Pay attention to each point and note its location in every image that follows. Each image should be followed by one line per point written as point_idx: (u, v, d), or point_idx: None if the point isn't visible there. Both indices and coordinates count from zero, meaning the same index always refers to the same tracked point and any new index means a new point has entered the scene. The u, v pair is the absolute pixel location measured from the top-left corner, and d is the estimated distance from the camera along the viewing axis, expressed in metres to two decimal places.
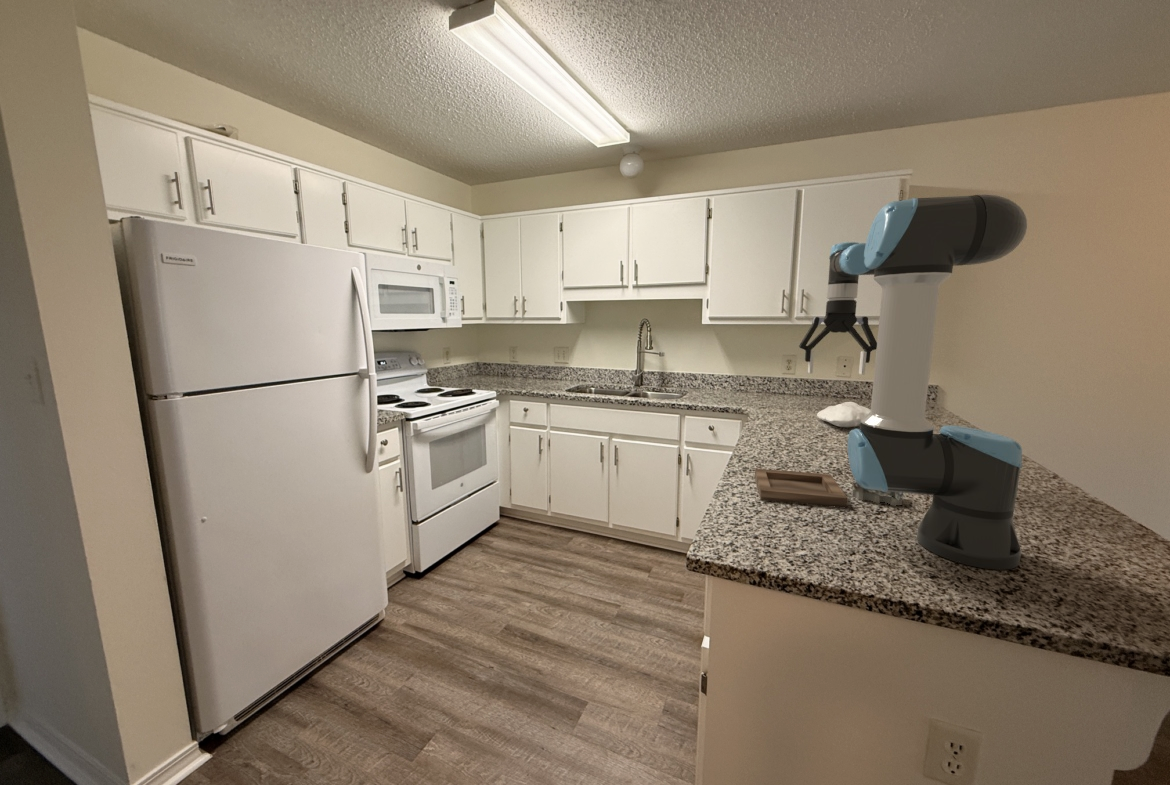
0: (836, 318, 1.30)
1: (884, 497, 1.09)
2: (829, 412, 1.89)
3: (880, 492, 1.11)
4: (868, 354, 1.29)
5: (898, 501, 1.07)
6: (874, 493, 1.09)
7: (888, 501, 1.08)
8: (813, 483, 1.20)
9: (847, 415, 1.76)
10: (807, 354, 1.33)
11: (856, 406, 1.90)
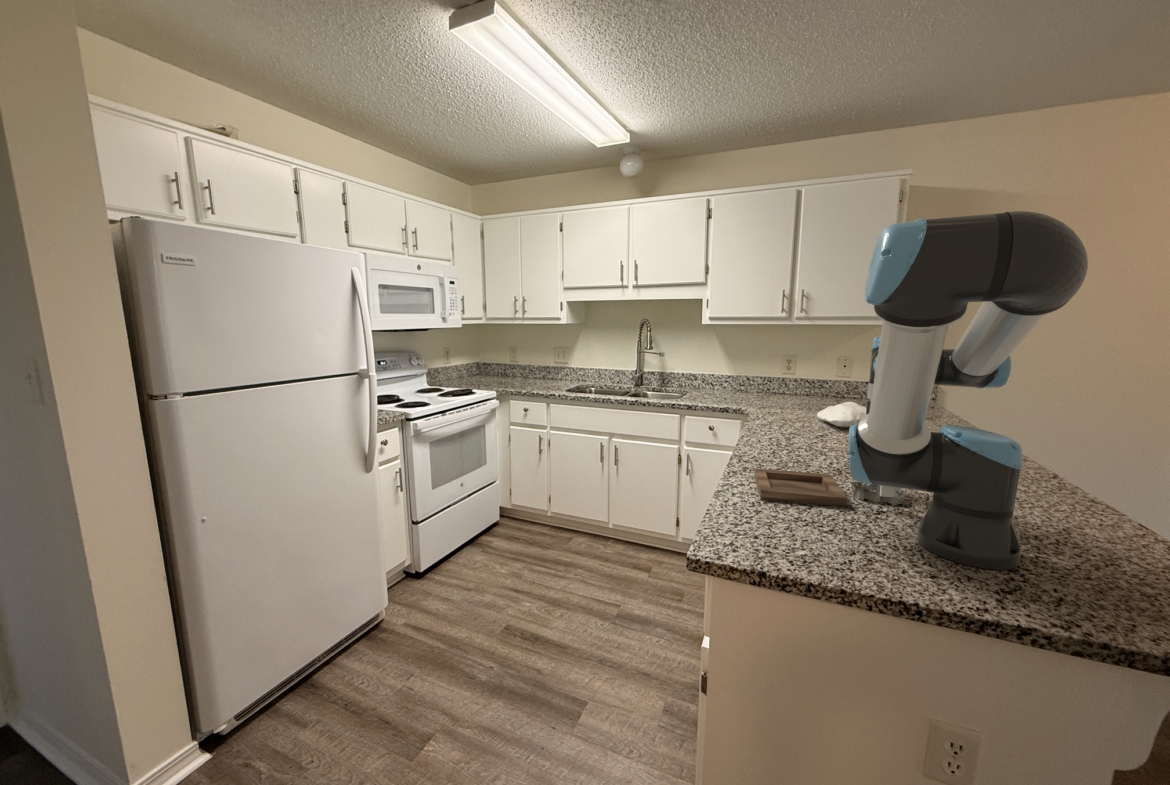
0: None
1: None
2: (829, 412, 1.89)
3: None
4: None
5: (898, 500, 1.08)
6: (874, 492, 1.10)
7: (888, 500, 1.09)
8: (813, 483, 1.20)
9: (847, 415, 1.76)
10: None
11: (856, 406, 1.90)
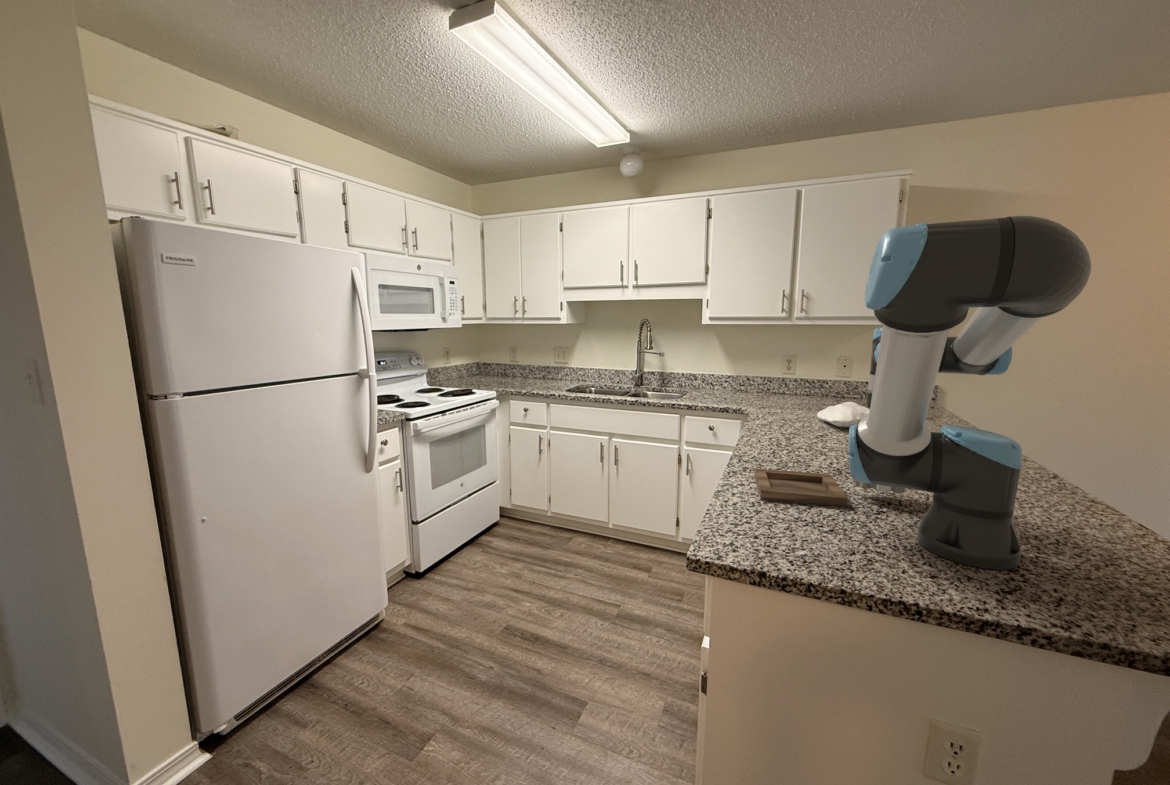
0: None
1: None
2: (829, 412, 1.89)
3: None
4: None
5: None
6: None
7: (892, 487, 1.07)
8: (813, 483, 1.20)
9: (847, 415, 1.76)
10: None
11: (856, 406, 1.90)
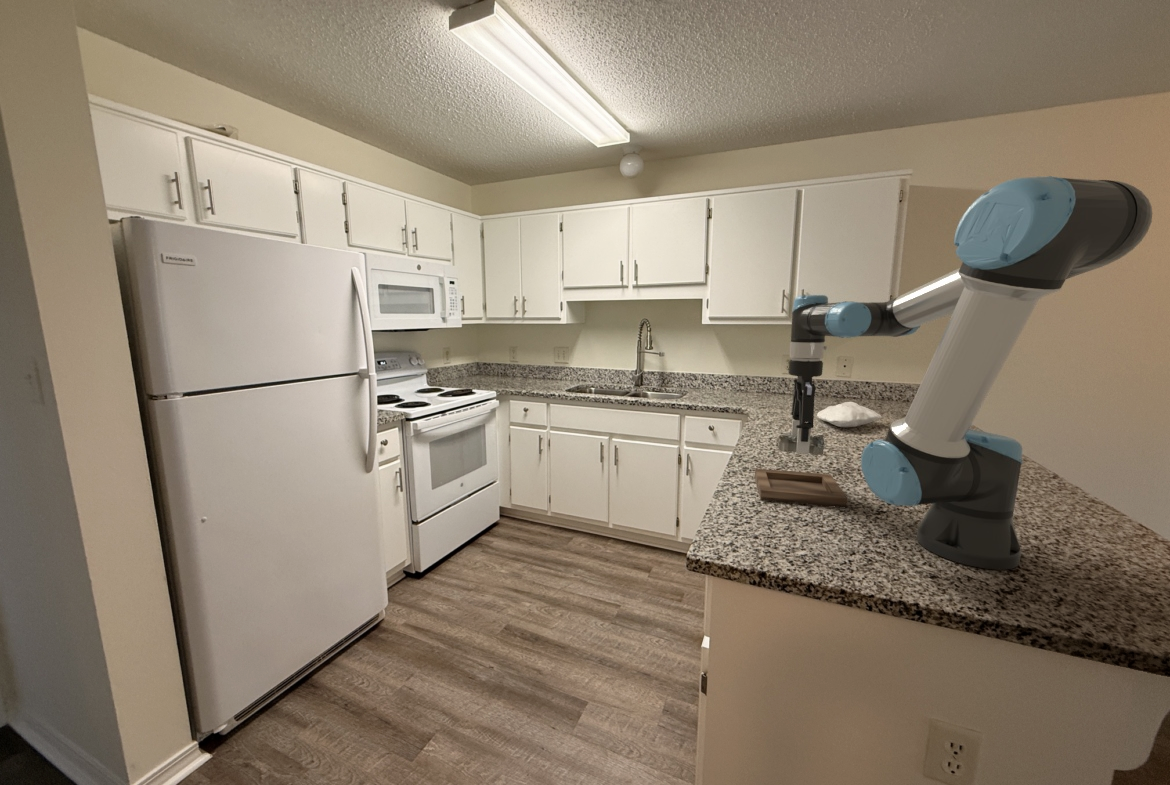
0: (798, 377, 1.14)
1: None
2: (829, 412, 1.89)
3: None
4: (801, 431, 1.09)
5: (820, 449, 1.11)
6: None
7: (811, 450, 1.12)
8: (813, 483, 1.20)
9: (847, 415, 1.76)
10: None
11: (856, 406, 1.90)
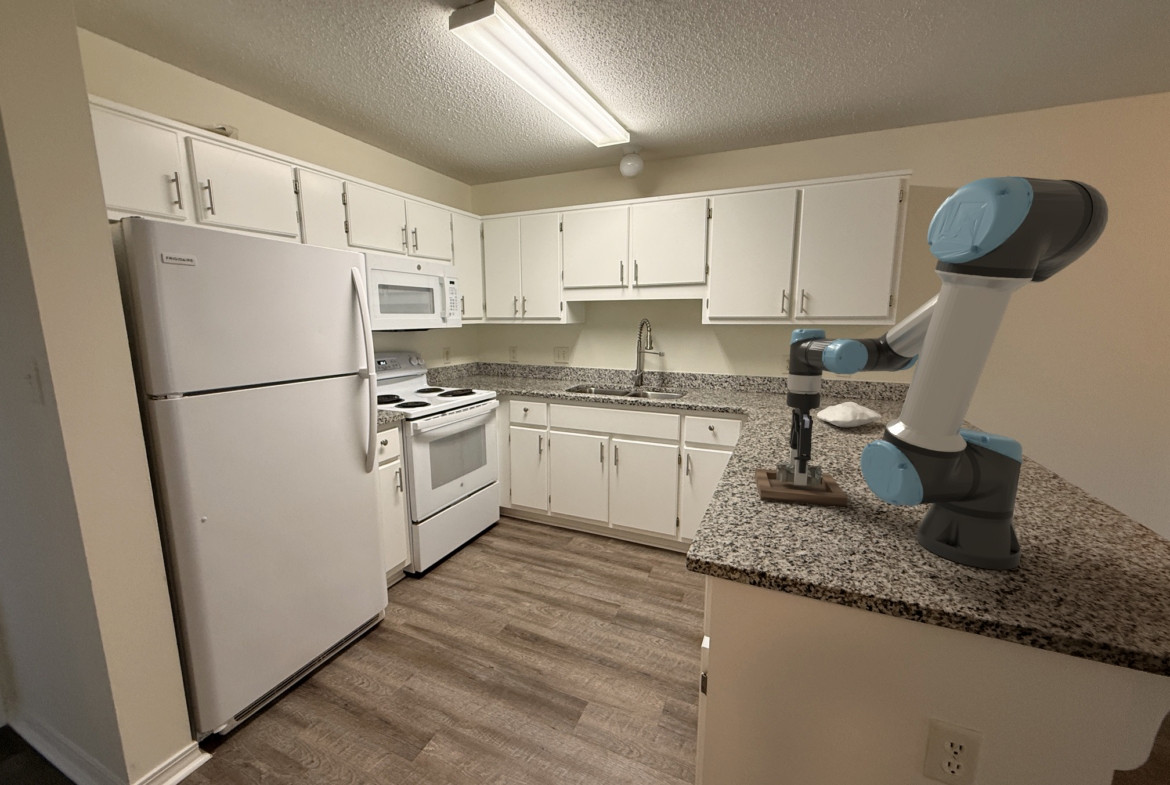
0: (796, 408, 1.15)
1: None
2: (829, 412, 1.89)
3: None
4: (799, 463, 1.11)
5: (817, 480, 1.12)
6: None
7: (808, 481, 1.13)
8: None
9: (847, 415, 1.76)
10: None
11: (856, 406, 1.90)
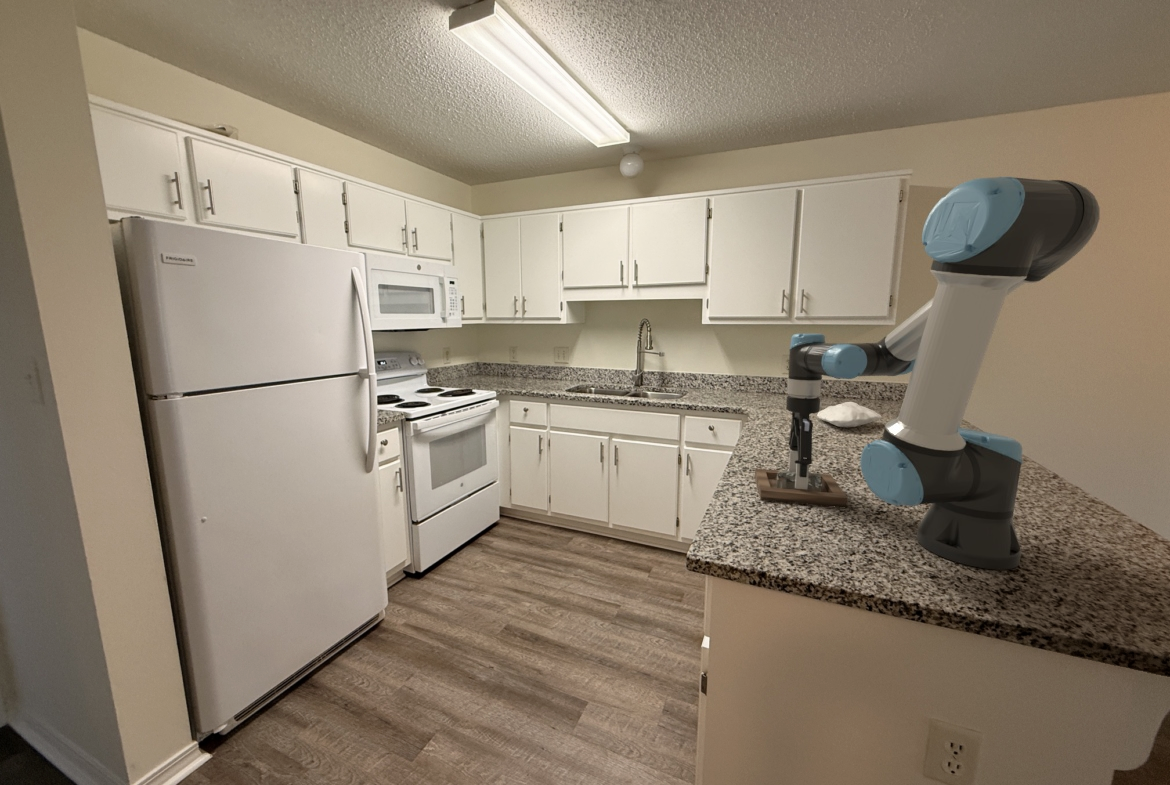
0: (796, 413, 1.15)
1: None
2: (829, 412, 1.89)
3: None
4: (800, 467, 1.10)
5: (817, 489, 1.13)
6: None
7: (808, 489, 1.13)
8: None
9: (847, 415, 1.76)
10: None
11: (856, 406, 1.90)
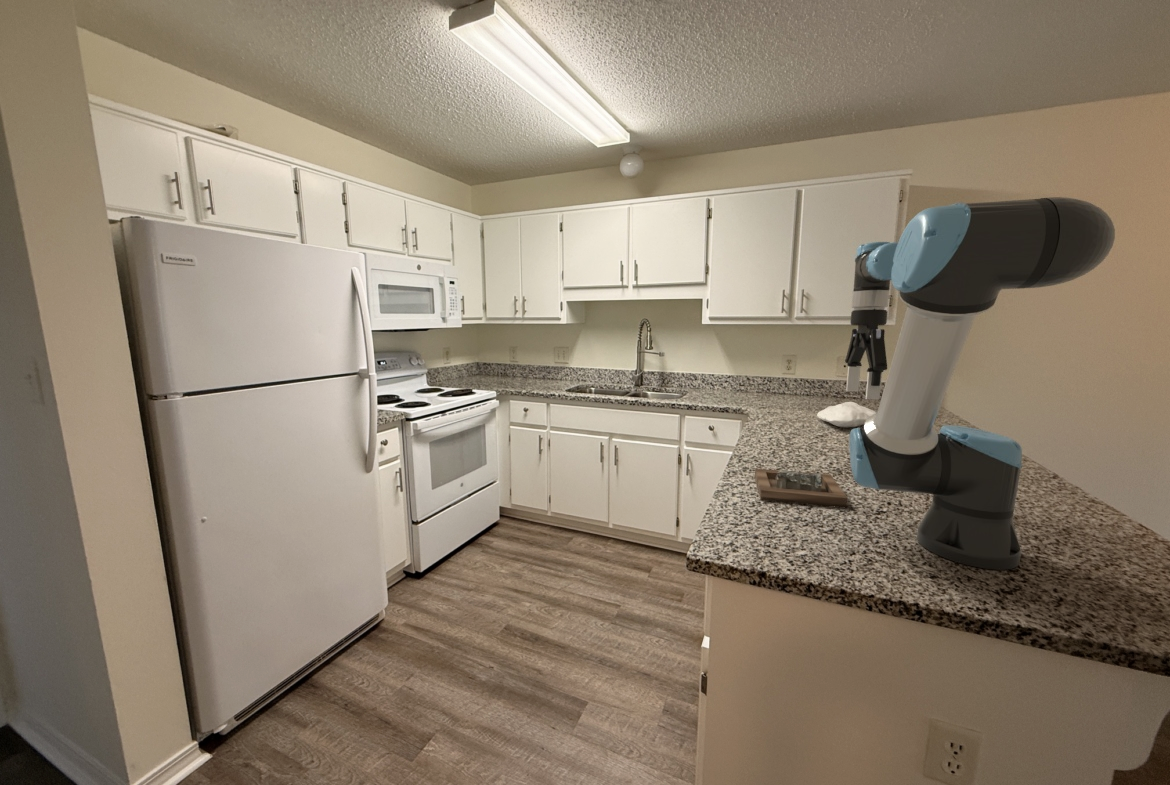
0: (860, 330, 1.13)
1: (805, 485, 1.14)
2: (829, 412, 1.89)
3: (801, 481, 1.15)
4: (873, 375, 1.06)
5: (817, 489, 1.12)
6: (795, 482, 1.14)
7: (808, 489, 1.13)
8: None
9: (847, 415, 1.76)
10: None
11: (856, 406, 1.90)
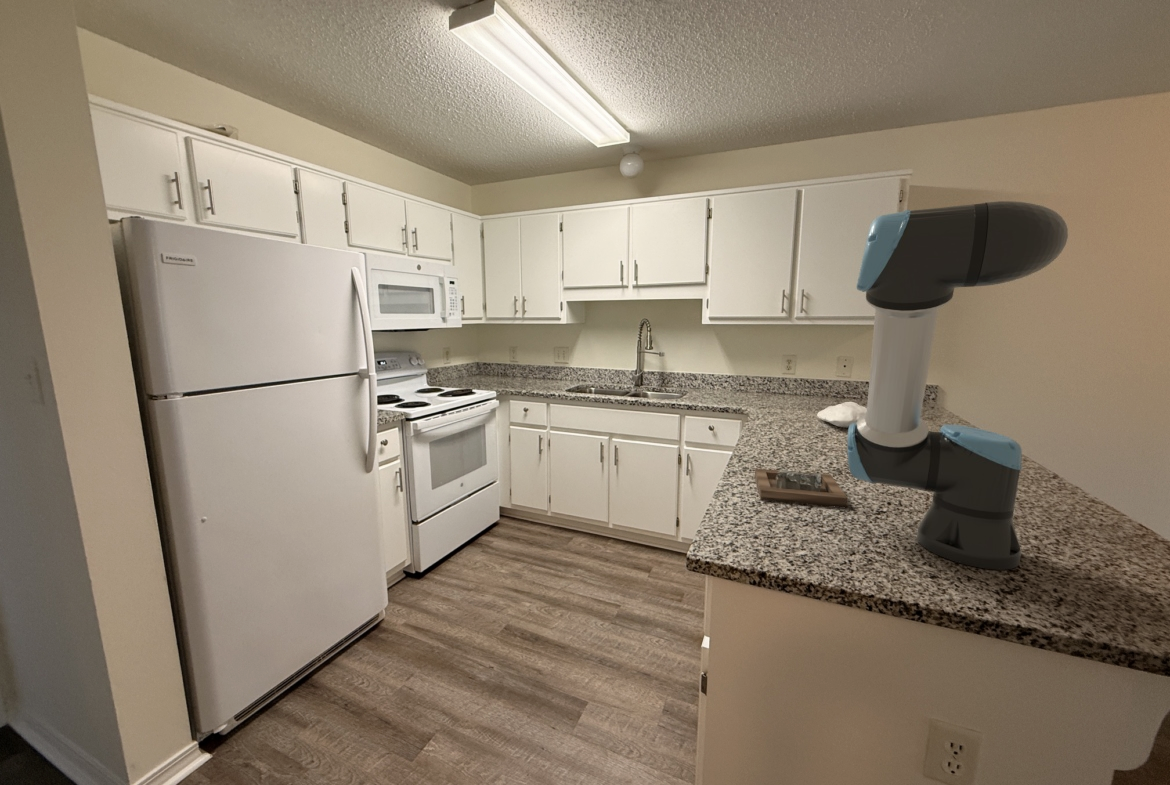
0: None
1: (804, 485, 1.14)
2: (829, 412, 1.89)
3: (801, 481, 1.15)
4: None
5: (817, 489, 1.12)
6: (795, 482, 1.14)
7: (808, 489, 1.13)
8: None
9: (847, 415, 1.76)
10: None
11: (856, 406, 1.90)
